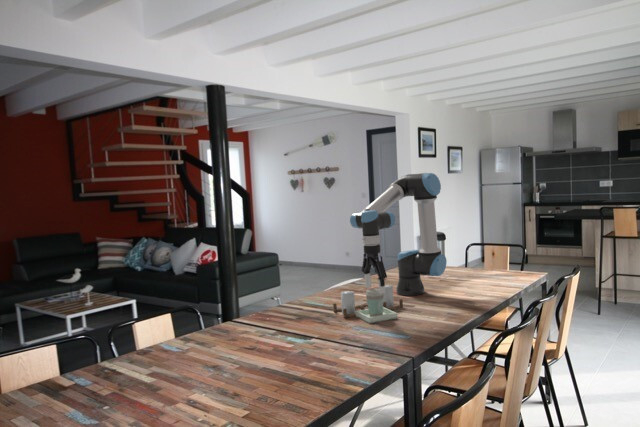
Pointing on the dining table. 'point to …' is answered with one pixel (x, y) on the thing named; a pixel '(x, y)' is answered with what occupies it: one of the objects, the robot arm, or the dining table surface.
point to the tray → (366, 316)
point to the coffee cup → (374, 302)
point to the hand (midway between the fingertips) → (375, 290)
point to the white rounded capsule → (348, 302)
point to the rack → (363, 308)
